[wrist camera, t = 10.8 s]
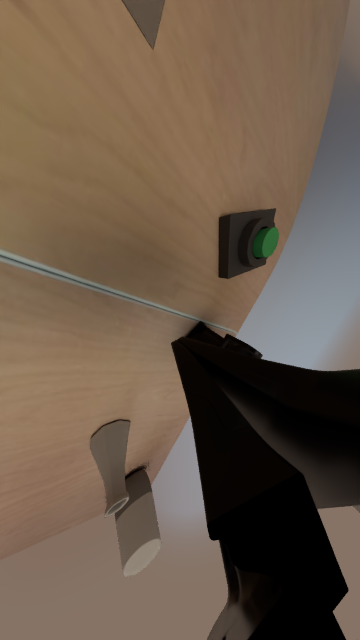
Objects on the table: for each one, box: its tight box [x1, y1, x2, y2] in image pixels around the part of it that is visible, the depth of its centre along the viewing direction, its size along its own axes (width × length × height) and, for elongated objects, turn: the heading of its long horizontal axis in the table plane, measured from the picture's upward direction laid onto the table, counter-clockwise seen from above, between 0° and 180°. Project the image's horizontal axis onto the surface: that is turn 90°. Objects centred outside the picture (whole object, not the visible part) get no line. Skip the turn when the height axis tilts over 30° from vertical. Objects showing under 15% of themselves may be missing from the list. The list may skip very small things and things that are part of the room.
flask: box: [90, 420, 130, 518], centre depth 22 cm, size 7×7×10 cm
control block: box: [219, 208, 276, 279], centre depth 22 cm, size 11×9×4 cm
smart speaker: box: [115, 470, 161, 577], centre depth 33 cm, size 10×9×14 cm
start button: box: [252, 227, 279, 257], centre depth 20 cm, size 4×4×2 cm
